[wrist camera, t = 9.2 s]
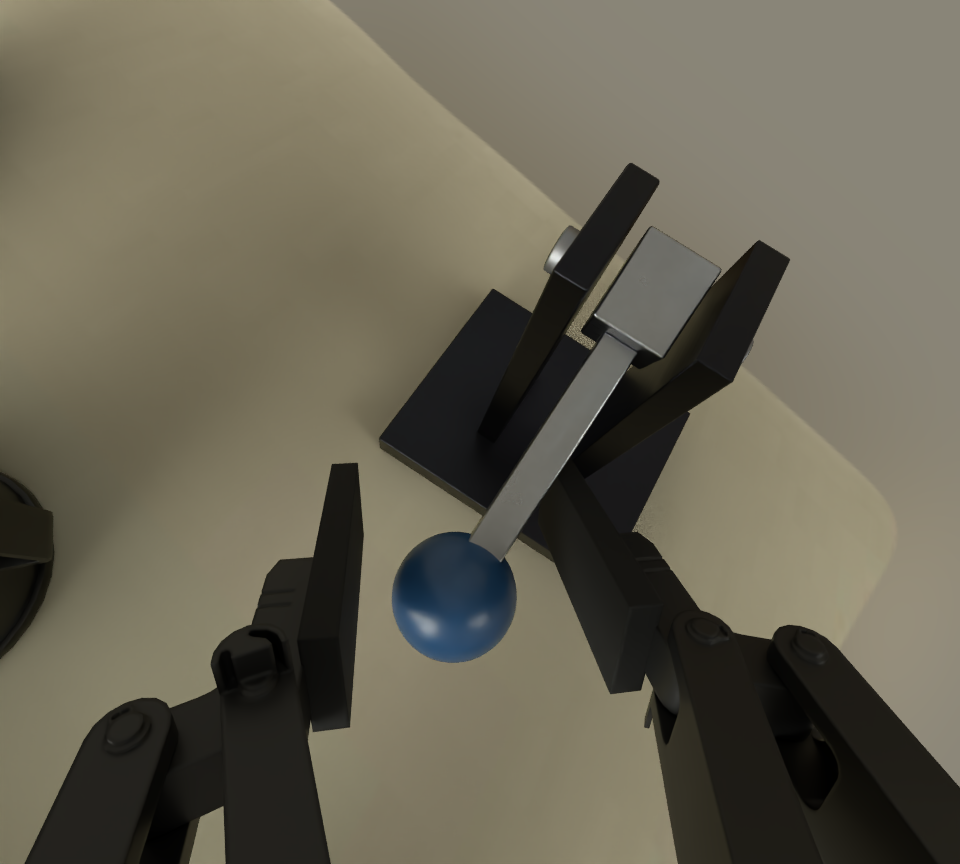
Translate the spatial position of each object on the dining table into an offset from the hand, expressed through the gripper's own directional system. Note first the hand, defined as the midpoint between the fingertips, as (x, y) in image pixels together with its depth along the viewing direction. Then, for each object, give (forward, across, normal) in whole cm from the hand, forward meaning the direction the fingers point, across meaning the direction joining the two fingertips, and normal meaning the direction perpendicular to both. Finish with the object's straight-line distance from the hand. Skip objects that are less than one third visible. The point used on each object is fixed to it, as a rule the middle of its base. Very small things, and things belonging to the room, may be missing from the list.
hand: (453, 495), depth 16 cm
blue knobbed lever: (0, +3, +1) cm, 3 cm away
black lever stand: (+8, +5, -2) cm, 10 cm away
